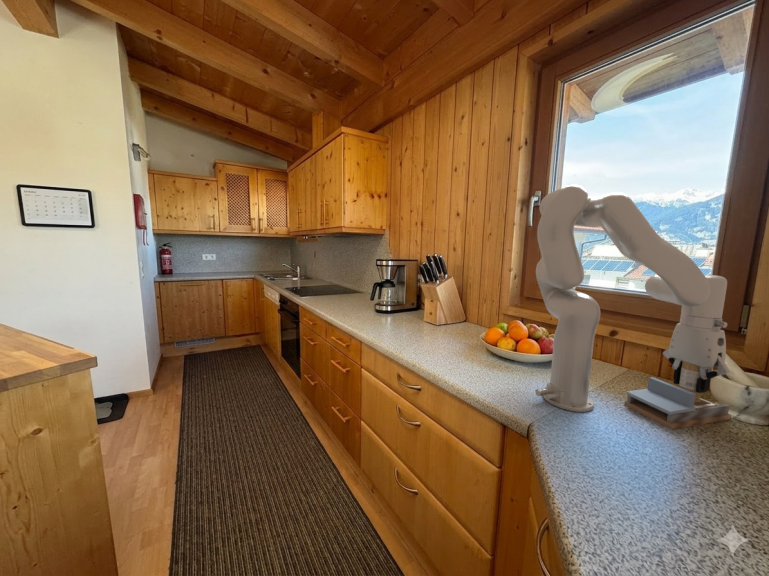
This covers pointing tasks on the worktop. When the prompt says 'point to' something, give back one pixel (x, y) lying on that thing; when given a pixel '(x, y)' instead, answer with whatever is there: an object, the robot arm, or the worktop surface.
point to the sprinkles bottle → (690, 378)
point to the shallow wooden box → (701, 415)
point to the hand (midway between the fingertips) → (689, 386)
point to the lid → (665, 397)
